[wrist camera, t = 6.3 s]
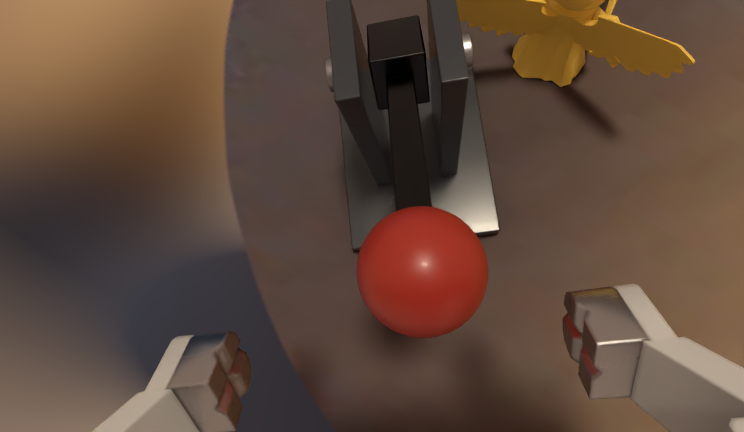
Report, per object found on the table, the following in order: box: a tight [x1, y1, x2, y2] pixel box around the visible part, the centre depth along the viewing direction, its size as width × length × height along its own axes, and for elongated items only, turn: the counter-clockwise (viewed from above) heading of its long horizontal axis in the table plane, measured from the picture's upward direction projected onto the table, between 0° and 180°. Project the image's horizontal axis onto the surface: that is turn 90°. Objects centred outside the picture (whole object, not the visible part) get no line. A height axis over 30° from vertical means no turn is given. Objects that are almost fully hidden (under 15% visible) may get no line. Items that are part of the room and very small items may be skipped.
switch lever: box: [357, 15, 488, 338], centre depth 15 cm, size 13×4×4 cm, turn 6°
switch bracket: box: [325, 0, 500, 251], centre depth 23 cm, size 12×9×13 cm
